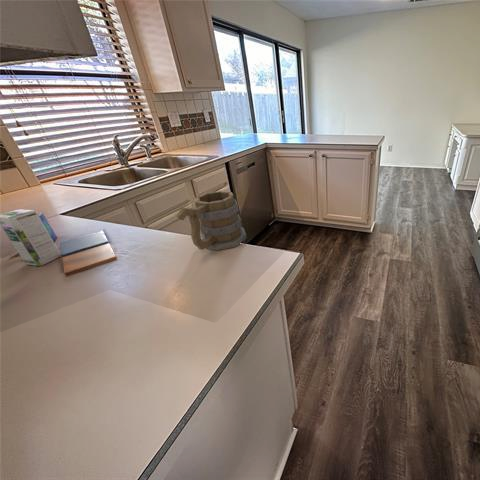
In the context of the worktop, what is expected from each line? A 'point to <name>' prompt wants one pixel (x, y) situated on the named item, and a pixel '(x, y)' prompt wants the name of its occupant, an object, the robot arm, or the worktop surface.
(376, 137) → the worktop surface
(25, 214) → the syrup box
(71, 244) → the slate mat
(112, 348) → the worktop surface
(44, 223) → the flask
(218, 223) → the tankard
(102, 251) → the amber mat
